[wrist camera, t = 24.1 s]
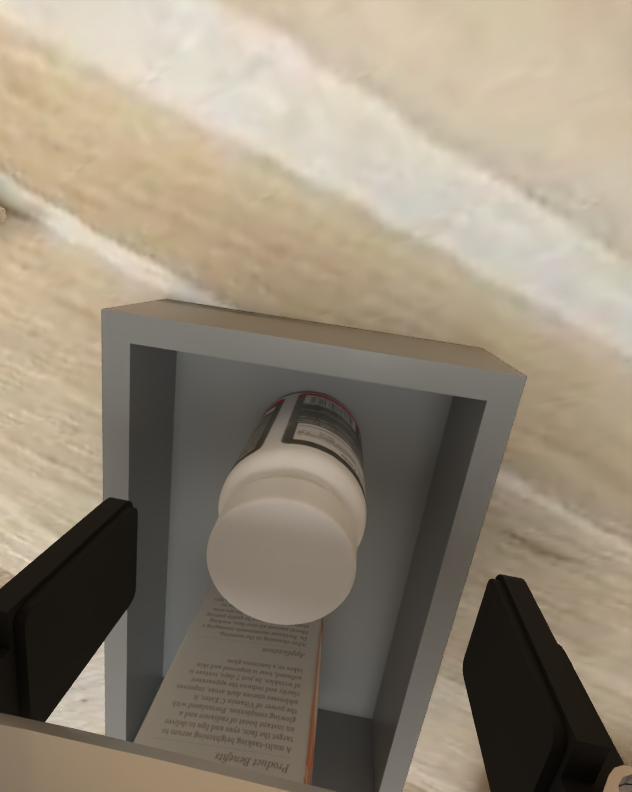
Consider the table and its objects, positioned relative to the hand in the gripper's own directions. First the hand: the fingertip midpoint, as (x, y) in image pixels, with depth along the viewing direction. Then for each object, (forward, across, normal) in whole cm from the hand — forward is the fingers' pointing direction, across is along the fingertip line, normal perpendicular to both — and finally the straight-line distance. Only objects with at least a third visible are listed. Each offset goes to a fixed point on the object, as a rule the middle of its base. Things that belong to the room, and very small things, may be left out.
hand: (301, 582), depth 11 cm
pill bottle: (+9, +1, 0) cm, 9 cm away
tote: (+10, +1, +5) cm, 11 cm away
